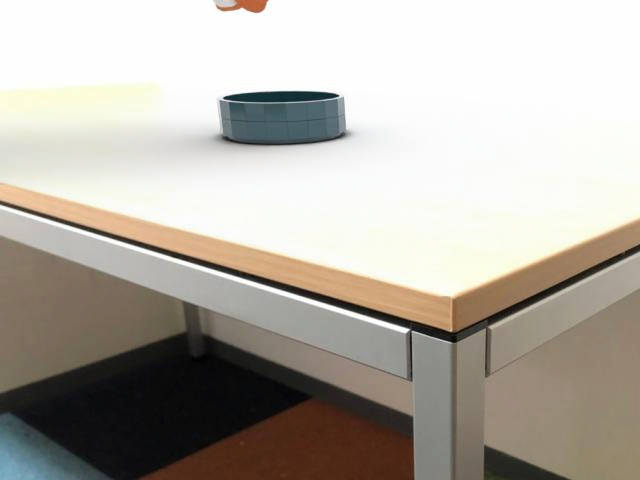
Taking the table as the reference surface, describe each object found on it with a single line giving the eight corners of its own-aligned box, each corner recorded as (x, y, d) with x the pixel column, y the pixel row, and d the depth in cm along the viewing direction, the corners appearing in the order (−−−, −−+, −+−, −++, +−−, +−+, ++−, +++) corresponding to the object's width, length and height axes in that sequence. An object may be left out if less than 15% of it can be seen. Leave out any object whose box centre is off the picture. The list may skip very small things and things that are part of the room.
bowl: (211, 146, 92) (205, 103, 90) (233, 127, 107) (228, 91, 105) (344, 143, 94) (342, 102, 92) (348, 125, 108) (346, 89, 106)
